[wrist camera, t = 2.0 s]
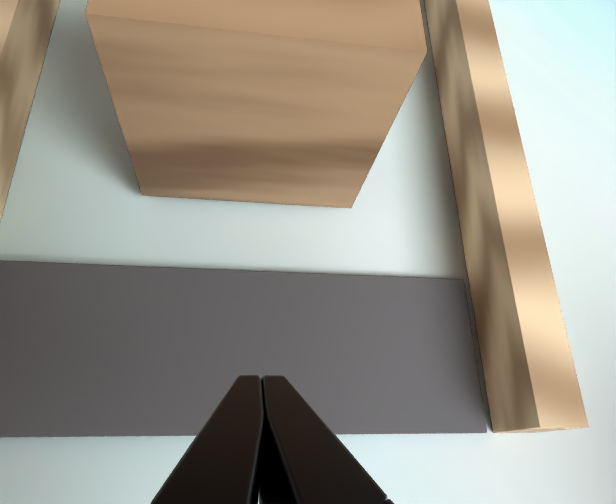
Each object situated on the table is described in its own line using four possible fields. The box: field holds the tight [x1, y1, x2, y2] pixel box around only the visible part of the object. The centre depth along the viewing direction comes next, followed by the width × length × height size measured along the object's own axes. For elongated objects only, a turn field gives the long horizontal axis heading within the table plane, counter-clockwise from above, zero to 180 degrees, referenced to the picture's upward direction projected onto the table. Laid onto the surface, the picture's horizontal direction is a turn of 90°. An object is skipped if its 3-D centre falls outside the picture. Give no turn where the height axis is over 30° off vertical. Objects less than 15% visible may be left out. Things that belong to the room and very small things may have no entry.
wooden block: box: [85, 0, 427, 208], centre depth 20 cm, size 5×10×10 cm, turn 91°
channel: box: [0, 0, 589, 433], centre depth 23 cm, size 28×26×4 cm
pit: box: [0, 260, 487, 437], centre depth 21 cm, size 7×21×1 cm, turn 91°
